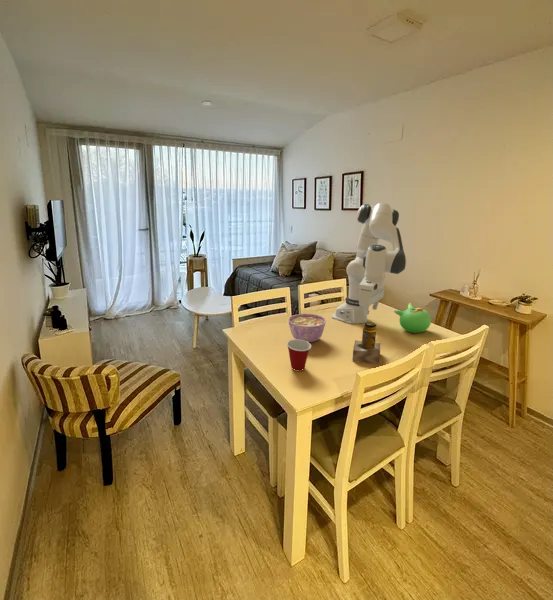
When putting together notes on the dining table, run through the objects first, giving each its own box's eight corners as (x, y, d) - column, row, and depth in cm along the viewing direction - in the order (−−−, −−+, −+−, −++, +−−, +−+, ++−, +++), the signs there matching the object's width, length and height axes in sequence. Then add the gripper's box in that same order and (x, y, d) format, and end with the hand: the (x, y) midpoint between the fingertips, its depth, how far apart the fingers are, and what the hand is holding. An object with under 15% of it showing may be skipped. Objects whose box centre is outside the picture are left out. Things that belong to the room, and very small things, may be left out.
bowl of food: (282, 344, 174) (283, 323, 171) (294, 330, 192) (294, 311, 189) (320, 350, 168) (321, 328, 164) (328, 335, 186) (329, 316, 182)
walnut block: (352, 361, 157) (353, 350, 155) (354, 351, 168) (355, 340, 166) (378, 365, 153) (380, 353, 152) (379, 354, 164) (380, 343, 163)
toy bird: (418, 339, 181) (422, 314, 176) (390, 330, 193) (393, 306, 189) (434, 331, 192) (438, 307, 187) (407, 323, 204) (410, 300, 200)
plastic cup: (306, 376, 143) (307, 350, 139) (282, 371, 147) (283, 346, 143) (313, 365, 152) (314, 341, 149) (291, 361, 156) (291, 337, 153)
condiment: (378, 349, 156) (380, 325, 153) (362, 351, 154) (364, 327, 150) (370, 343, 163) (372, 320, 159) (354, 345, 160) (356, 321, 157)
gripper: (375, 277, 158) (372, 304, 162) (357, 285, 142) (354, 316, 146) (389, 279, 154) (385, 307, 158) (371, 288, 139) (368, 319, 143)
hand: (370, 311), depth 152 cm, fingers open, 8 cm apart
